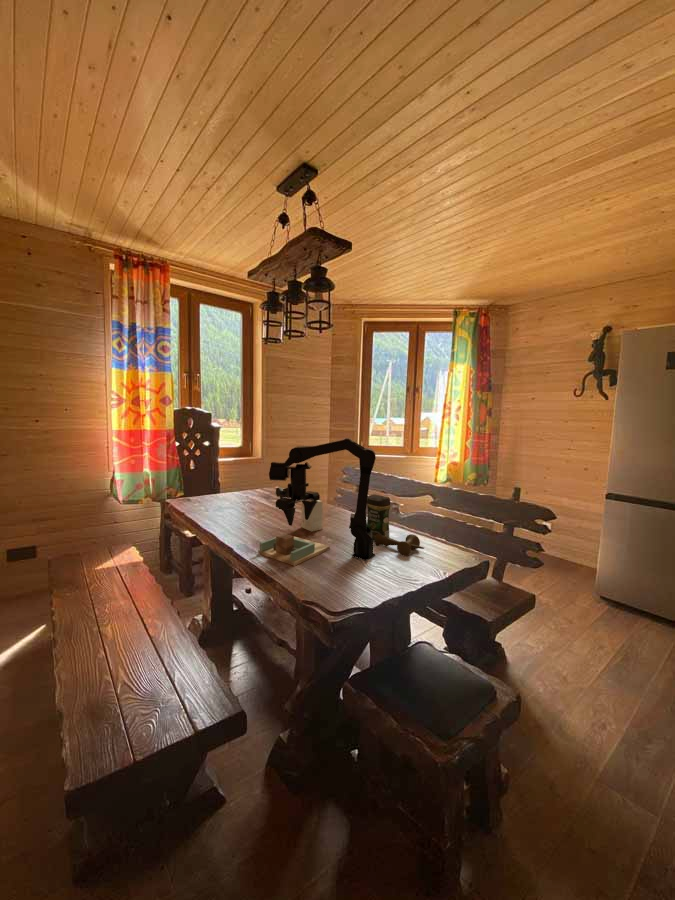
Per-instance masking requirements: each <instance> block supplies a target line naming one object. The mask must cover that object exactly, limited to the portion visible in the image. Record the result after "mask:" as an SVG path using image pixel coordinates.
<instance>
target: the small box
mask: <svg viewBox="0 0 675 900" xmlns="http://www.w3.org/2000/svg"><path fill="white" fill-rule="evenodd" d="M317 501H318V502H317V503H316V504H315V506H314V508H313V510H312V512H311V514H310V516H309V519H308V520H306V519H305V512H304V504H303V503H302V502H301V528H302V529H305V530H307V531H308V532H311V533H312V532H317V531H321V530H323V523H324V522H323V519H324V518H323V515H324V509H323V507H324V505H323V504H324V501H323V500H321V499H320V500H317Z"/></svg>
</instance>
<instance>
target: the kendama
mask: <svg viewBox="0 0 675 900" xmlns="http://www.w3.org/2000/svg"><path fill="white" fill-rule="evenodd" d="M374 545H375V546H377V547H378V546H380V545H381V546H384V547H388V546H396V550H397V553H398V554H399V555H400V556H403V555H404V557H408V556H410V554H411V551H412V550H419V549H420V550H424V549H425V547H424V546H422V545H421V541H420V538H419V537H418V536H417V535H416V534H411V533H410V534H407V536H406V537H405V541H404V540H401V541H399V540H396V539H394V538H392V537H391V536H390V535H389V536H388V535H387V536H383V535H381V534H380V533H377V534H376V536H375V541H374ZM420 545H421V546H420Z"/></svg>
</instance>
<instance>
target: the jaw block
mask: <svg viewBox="0 0 675 900" xmlns="http://www.w3.org/2000/svg"><path fill="white" fill-rule="evenodd" d="M275 537H276V553H279V554H282V555H286V556H287V555H289V554H291V552H292V548H294V537H295V536H293V535H290V534H286V533H282V534H278V535H276V536H275Z"/></svg>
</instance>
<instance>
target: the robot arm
mask: <svg viewBox="0 0 675 900" xmlns="http://www.w3.org/2000/svg"><path fill="white" fill-rule="evenodd" d="M341 451H348V453H349V452H350V453H351V454H352V455H353V456H354V457H356V458H358V459H359V484H358V491H357V499H356V501H357V502H356V507H355V512H354V513H353V512H351V514H350V516H349V517H350V519H349V520H350V521H349V525H348V529H350V534H351V535H352V536H353V537H354V542H353V550H352V551H353V552H352V553H353V554H351V557H352V558H353V557H354V558H356V559H360V560H364V561H369V560H370V559H372V558H374V557H375V556H376V553H374V542H375V541H374V540H372V531H371V530H370V529H369V528H368V527H367V499H368V496H369V489H370V487H369V486H370V483H371V482H370V479H371V475H372V471H373V469H374V465H375V462H376V457H377V455H376V452H375V451H374V449H372V448H369V447H364V446H363V445H361V444H359V443H357V442H355V441H354V440H353V439H351V438H350V437H346V438H344V439H340V440H335V441H330V442H325V443H322V444H317V445H299V446H296V447H293V448H291V449H290V450H289V452H288V457H287V459H286V460H285V461H284V462H279V461H278V462H276V461H272V462H270V467H269V471H268V477H269V480H270V481H277V482H278V481H279V482H280V481H283V482H286V481H287V480H288V479H290V482H289V483H288V484H287V487H285V488H283V487H282V486H280V487H276V488H275V495H276V497H277V498H278V499H277V500H276V501H275V508H278V509H279V510H281V511H282V512H283V513H284V515H285V518H286V521H287V523H288V525H289V526H290V527H292V526H293V523H294V518H295V512H296V508H295V506H296V504H297V503H301V504H302V503H303V504H304V512H305V519H306V520H308V519H309V516H310V514H311V512H312V510H313V508H314V506H315V504H316V503H317V502H318V501H317V500H320V501H321V499H320V494H319V492H317V491H310V490H308V491H307V487H309V485H310V484H309V483H307V470H311V468H312V465H310V464H309V463H308V461H307V460H310V459H312V458H314V457H317V456H322V455H328V454H330V453H331V454H332V453H337V452H341ZM305 461H306V462H305ZM303 462H304V463H303ZM294 464H296V465H295V466H292V465H294Z"/></svg>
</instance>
